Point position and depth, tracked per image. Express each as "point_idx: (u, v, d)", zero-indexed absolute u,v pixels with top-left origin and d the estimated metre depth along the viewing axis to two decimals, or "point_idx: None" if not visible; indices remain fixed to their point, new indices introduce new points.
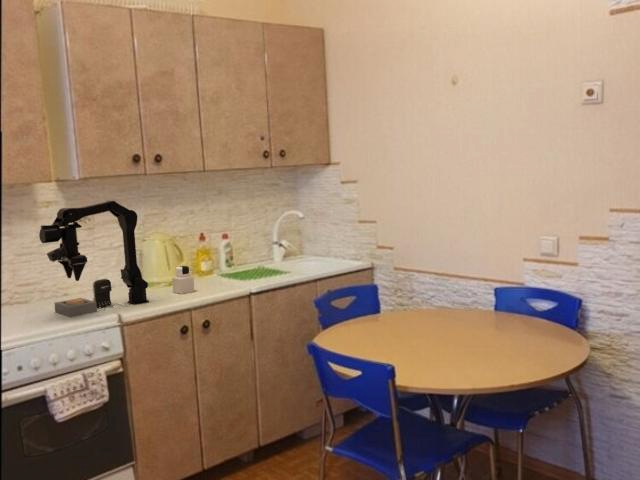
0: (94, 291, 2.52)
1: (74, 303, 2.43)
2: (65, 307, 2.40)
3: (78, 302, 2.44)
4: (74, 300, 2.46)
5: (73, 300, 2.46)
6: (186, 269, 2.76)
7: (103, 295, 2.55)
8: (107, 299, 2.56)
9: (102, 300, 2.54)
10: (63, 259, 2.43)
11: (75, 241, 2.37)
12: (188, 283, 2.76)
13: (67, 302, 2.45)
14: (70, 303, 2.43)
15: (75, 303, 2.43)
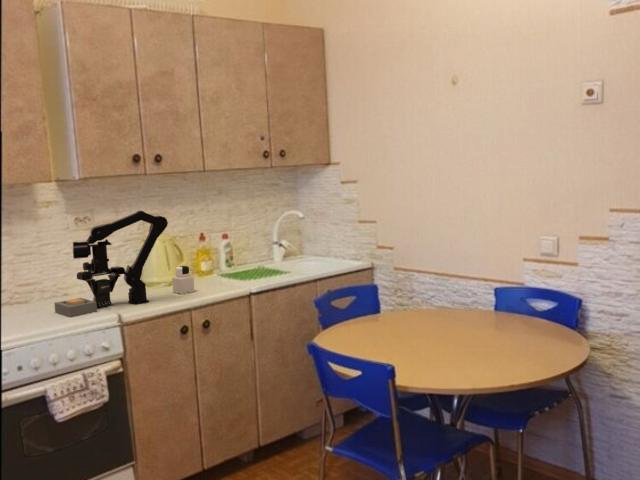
0: None
1: (74, 303, 2.43)
2: (65, 307, 2.40)
3: (78, 302, 2.44)
4: (74, 300, 2.46)
5: (73, 300, 2.46)
6: (186, 269, 2.76)
7: (103, 295, 2.55)
8: (107, 299, 2.56)
9: (102, 300, 2.54)
10: (110, 273, 2.58)
11: (96, 258, 2.50)
12: (188, 283, 2.76)
13: (67, 302, 2.45)
14: (70, 303, 2.43)
15: (75, 303, 2.43)
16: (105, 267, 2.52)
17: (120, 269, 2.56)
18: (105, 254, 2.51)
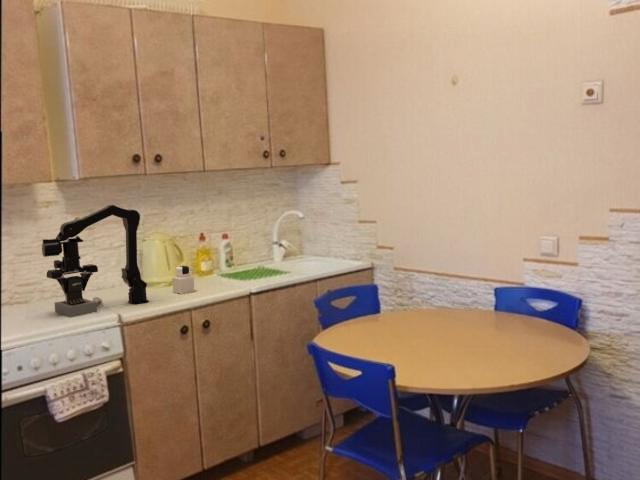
0: None
1: None
2: (65, 307, 2.40)
3: None
4: None
5: None
6: (186, 269, 2.76)
7: (75, 293, 2.46)
8: (79, 297, 2.47)
9: (74, 298, 2.46)
10: (82, 271, 2.49)
11: (66, 256, 2.41)
12: (188, 283, 2.76)
13: None
14: None
15: None
16: (76, 265, 2.43)
17: (92, 267, 2.48)
18: (77, 251, 2.43)
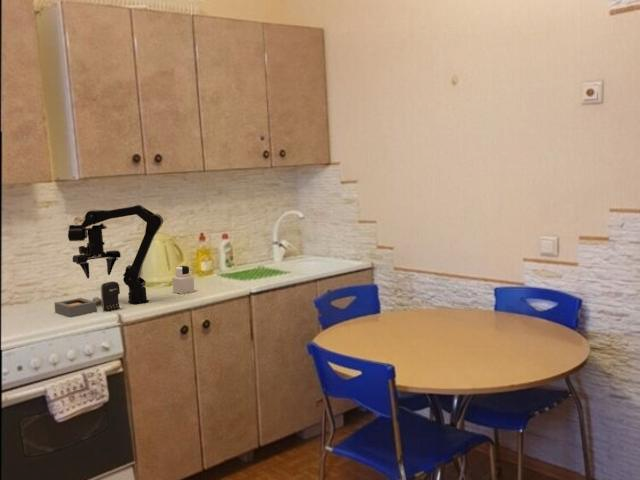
0: (102, 294, 2.45)
1: None
2: (65, 307, 2.40)
3: None
4: (74, 304, 2.46)
5: (73, 304, 2.46)
6: (186, 269, 2.76)
7: (111, 298, 2.48)
8: (115, 302, 2.49)
9: (110, 303, 2.47)
10: (107, 256, 2.62)
11: (91, 242, 2.53)
12: (188, 283, 2.76)
13: None
14: None
15: None
16: (100, 250, 2.55)
17: (115, 253, 2.60)
18: (99, 238, 2.54)
